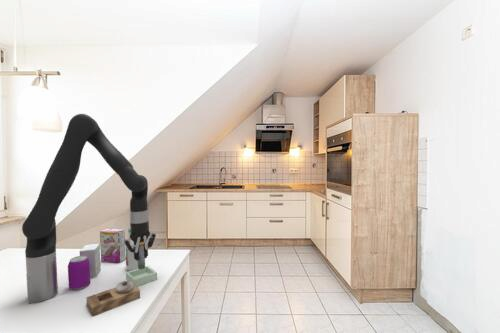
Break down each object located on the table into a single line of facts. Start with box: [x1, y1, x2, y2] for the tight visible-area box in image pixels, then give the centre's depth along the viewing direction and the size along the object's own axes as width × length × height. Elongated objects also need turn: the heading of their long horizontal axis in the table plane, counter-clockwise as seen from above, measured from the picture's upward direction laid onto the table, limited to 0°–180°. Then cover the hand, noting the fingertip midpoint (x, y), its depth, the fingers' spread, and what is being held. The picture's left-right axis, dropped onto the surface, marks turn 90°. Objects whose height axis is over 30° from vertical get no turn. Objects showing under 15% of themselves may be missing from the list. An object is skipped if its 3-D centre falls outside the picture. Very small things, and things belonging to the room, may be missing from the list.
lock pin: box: [138, 241, 146, 269], centre depth 113 cm, size 4×4×12 cm
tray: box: [125, 265, 158, 288], centre depth 113 cm, size 10×10×3 cm
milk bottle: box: [125, 227, 138, 272], centre depth 124 cm, size 8×8×20 cm
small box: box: [79, 243, 102, 279], centre depth 118 cm, size 8×6×13 cm
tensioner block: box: [86, 280, 141, 317], centre depth 96 cm, size 16×9×6 cm, turn 134°
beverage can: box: [67, 255, 91, 291], centre depth 108 cm, size 8×8×12 cm
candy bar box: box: [99, 228, 126, 264], centre depth 133 cm, size 11×5×16 cm, turn 82°
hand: (141, 258), depth 113 cm, fingers closed on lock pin, 3 cm apart
